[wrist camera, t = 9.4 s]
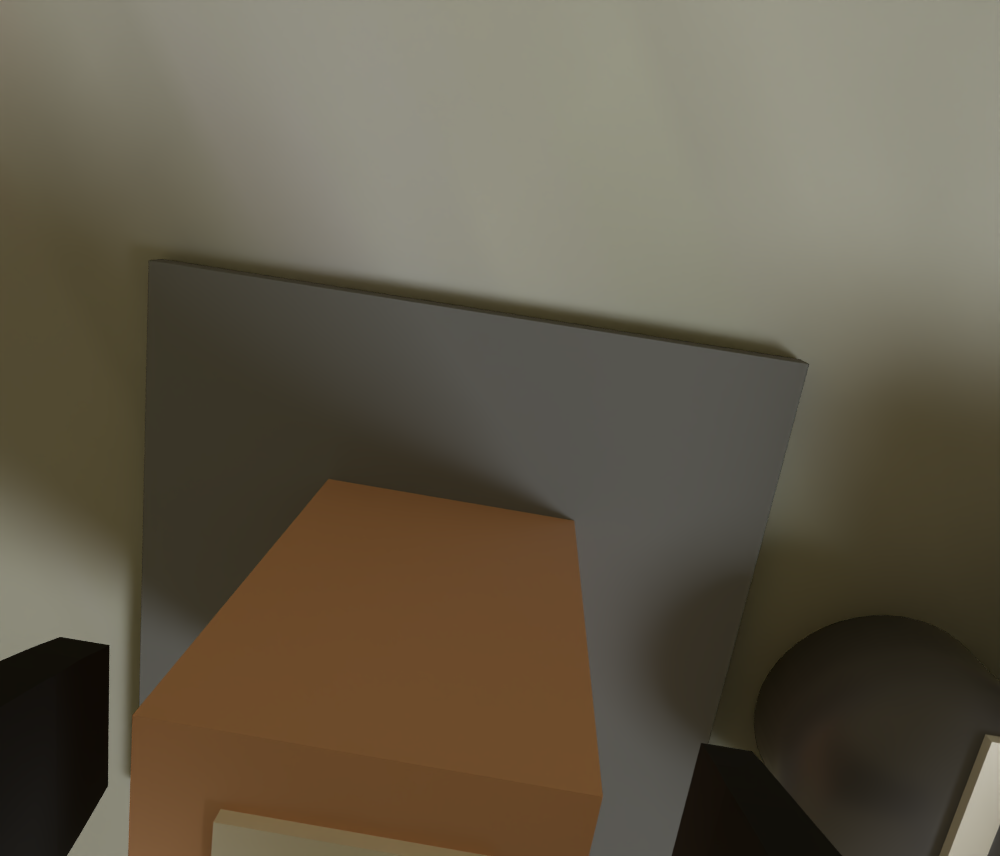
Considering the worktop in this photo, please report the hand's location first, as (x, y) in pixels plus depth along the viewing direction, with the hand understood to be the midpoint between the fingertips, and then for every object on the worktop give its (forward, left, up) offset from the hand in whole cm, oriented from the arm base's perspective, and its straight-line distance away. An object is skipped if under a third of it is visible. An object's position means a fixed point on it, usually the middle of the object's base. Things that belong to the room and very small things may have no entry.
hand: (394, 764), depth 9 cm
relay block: (0, 0, -4) cm, 4 cm away
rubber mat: (0, 0, -4) cm, 4 cm away
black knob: (-1, -8, -4) cm, 9 cm away
